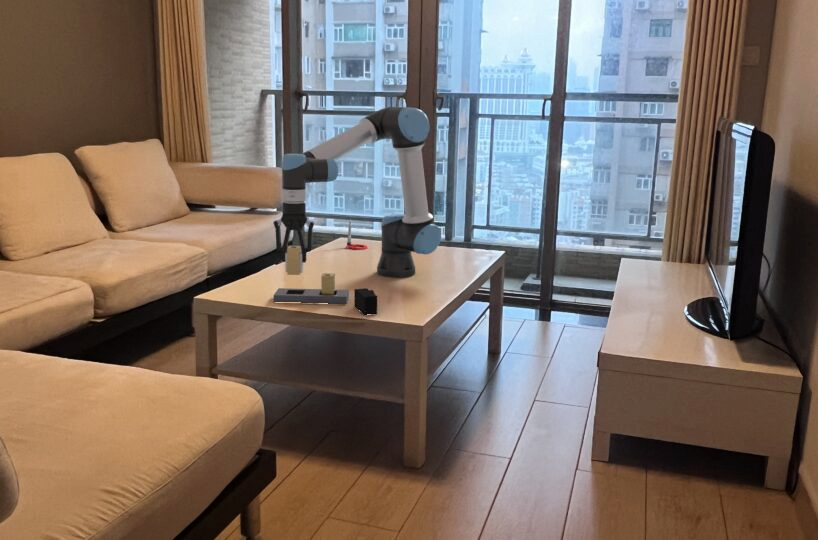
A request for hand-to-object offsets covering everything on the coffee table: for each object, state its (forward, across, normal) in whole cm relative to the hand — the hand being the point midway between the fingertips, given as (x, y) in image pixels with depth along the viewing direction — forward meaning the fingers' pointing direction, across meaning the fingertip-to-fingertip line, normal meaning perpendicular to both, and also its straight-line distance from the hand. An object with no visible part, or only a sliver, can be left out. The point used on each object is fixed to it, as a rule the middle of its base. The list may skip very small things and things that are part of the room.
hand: (294, 271), depth 255 cm
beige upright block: (+10, +11, 0) cm, 15 cm away
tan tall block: (+1, 0, 0) cm, 1 cm away
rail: (+11, +6, 0) cm, 12 cm away
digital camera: (+11, +25, -10) cm, 29 cm away
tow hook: (+10, +14, +92) cm, 94 cm away
